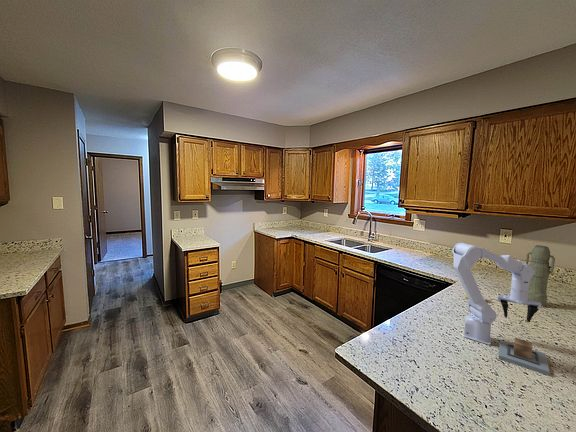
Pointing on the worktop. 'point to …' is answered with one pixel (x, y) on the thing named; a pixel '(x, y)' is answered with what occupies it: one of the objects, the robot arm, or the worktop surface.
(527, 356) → the walnut block
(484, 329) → the robot arm
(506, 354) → the slate base plate
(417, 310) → the worktop surface
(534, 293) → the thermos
